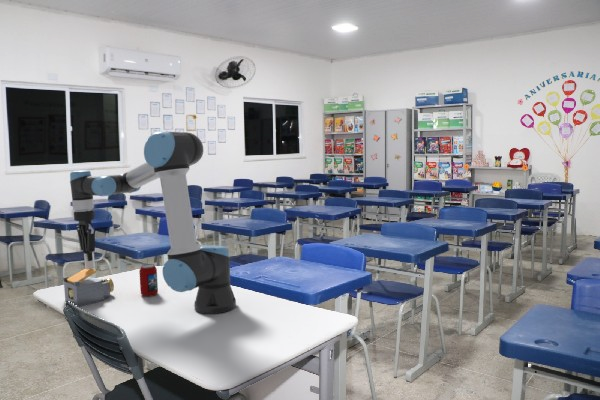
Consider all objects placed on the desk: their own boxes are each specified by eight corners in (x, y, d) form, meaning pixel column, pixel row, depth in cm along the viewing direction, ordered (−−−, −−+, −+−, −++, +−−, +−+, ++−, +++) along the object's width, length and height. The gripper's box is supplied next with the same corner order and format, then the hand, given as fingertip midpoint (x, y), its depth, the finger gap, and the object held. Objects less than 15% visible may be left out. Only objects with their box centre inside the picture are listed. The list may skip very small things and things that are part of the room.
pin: (107, 290, 202) (107, 277, 202) (114, 292, 198) (113, 279, 198) (68, 299, 191) (67, 285, 190) (74, 302, 187) (73, 288, 186)
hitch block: (113, 298, 195) (111, 274, 194) (77, 307, 184) (75, 282, 183) (99, 292, 203) (98, 270, 202) (64, 301, 193) (62, 277, 192)
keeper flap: (96, 271, 191) (96, 270, 191) (75, 284, 186) (74, 282, 185) (88, 268, 197) (87, 267, 197) (67, 281, 191) (66, 279, 191)
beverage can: (155, 296, 195) (153, 267, 194) (138, 297, 195) (136, 267, 194) (160, 292, 202) (158, 263, 201) (144, 292, 202) (142, 264, 201)
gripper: (100, 210, 189) (106, 269, 192) (86, 207, 198) (91, 263, 201) (81, 212, 183) (87, 273, 186) (67, 210, 192) (73, 267, 195)
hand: (89, 268), depth 194 cm, fingers closed
